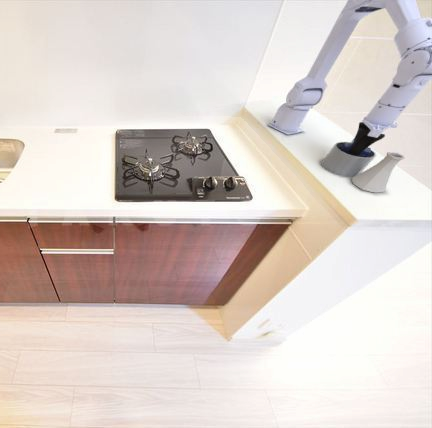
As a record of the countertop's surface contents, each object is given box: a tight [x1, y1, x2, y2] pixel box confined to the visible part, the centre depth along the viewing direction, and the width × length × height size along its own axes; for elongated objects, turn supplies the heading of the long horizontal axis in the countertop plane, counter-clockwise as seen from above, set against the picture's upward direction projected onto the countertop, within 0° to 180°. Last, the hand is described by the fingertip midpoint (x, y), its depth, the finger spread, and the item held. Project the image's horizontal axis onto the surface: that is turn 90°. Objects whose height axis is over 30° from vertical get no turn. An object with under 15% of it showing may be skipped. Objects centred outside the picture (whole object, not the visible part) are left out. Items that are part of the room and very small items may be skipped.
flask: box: [351, 151, 405, 193], centre depth 63 cm, size 7×7×10 cm
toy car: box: [341, 137, 372, 158], centre depth 68 cm, size 6×4×4 cm, turn 50°
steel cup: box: [321, 141, 377, 178], centre depth 70 cm, size 10×10×6 cm
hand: (353, 151), depth 68 cm, fingers closed on toy car, 3 cm apart
